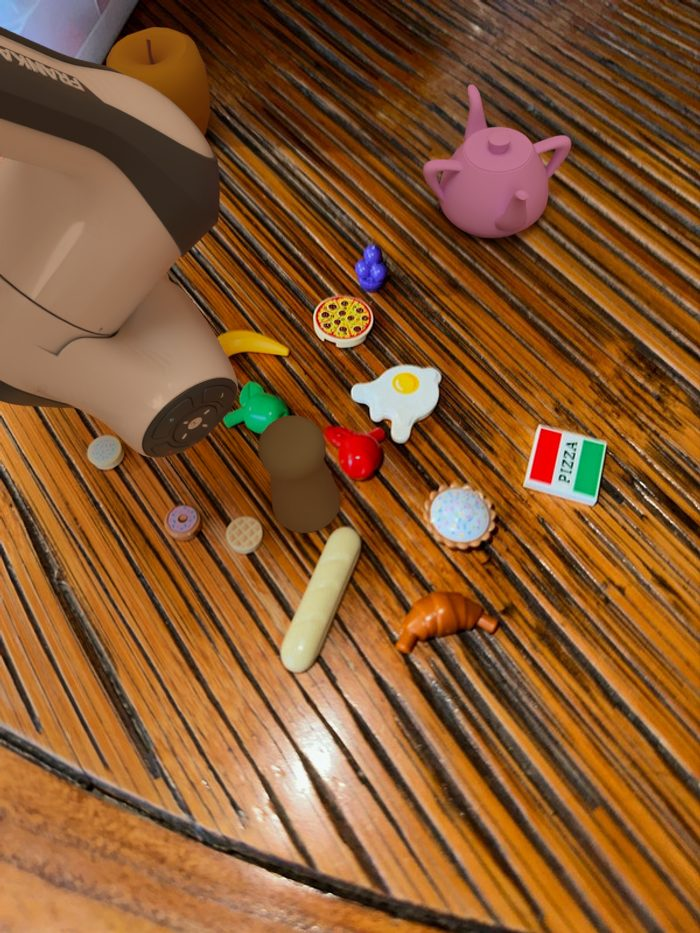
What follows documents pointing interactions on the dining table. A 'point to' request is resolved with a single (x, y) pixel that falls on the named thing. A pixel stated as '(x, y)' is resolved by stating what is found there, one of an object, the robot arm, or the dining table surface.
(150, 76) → the apple
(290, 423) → the cork
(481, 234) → the teapot
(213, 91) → the dining table surface
